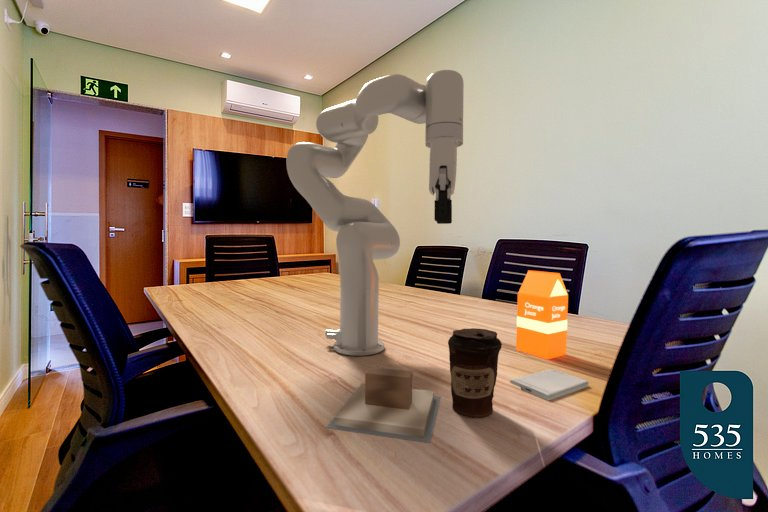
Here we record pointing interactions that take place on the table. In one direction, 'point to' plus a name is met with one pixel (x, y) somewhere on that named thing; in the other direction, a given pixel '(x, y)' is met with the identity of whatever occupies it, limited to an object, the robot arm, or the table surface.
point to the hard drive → (550, 384)
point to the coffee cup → (473, 371)
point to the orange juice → (542, 315)
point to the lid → (388, 404)
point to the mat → (426, 436)
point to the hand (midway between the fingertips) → (443, 222)
